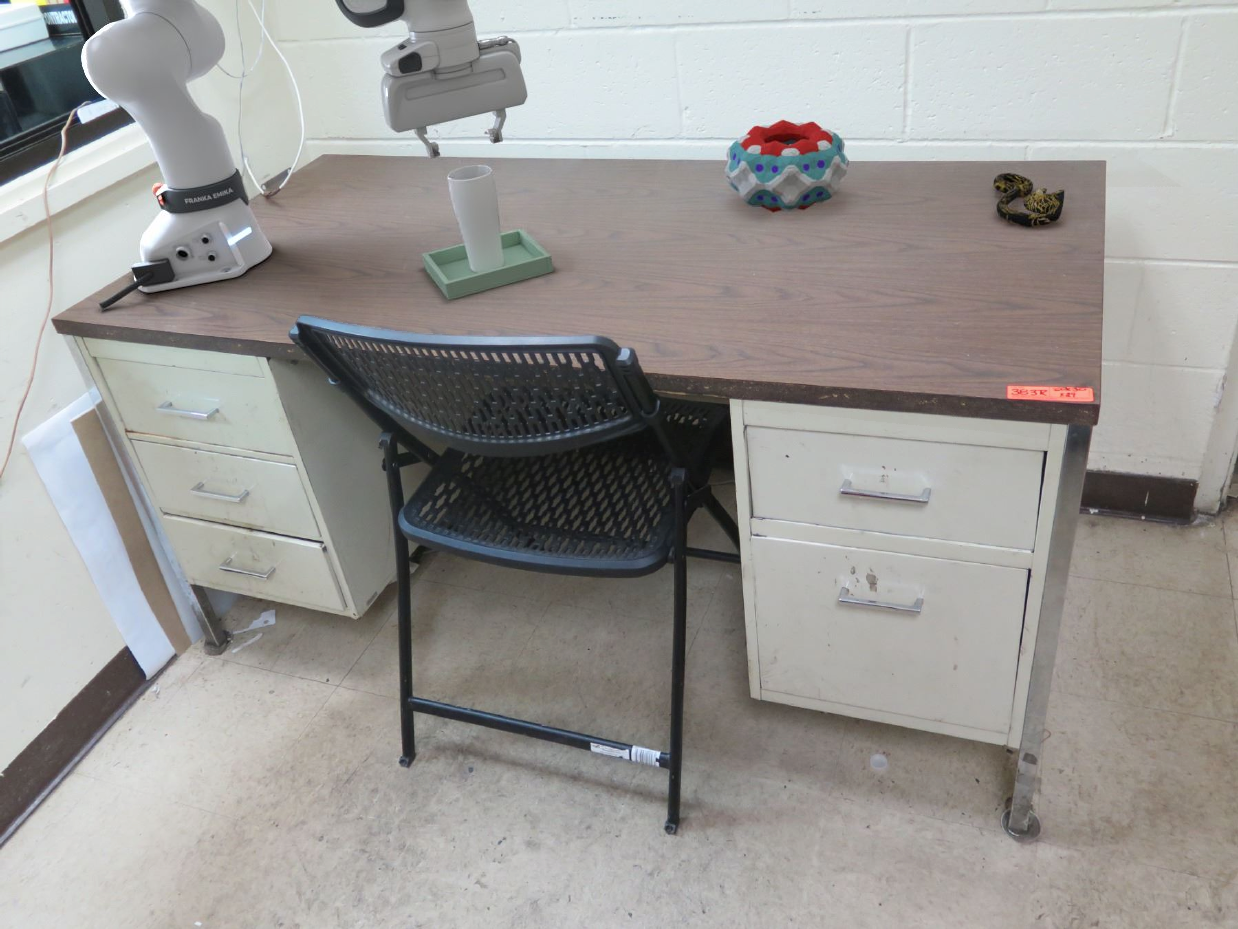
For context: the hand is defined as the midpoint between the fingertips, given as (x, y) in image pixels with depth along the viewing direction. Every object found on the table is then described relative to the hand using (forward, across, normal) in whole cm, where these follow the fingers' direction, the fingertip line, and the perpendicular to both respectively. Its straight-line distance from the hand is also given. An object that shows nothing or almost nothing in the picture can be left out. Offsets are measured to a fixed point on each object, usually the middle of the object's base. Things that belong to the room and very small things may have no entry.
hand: (465, 149), depth 141 cm
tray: (+19, 0, 0) cm, 19 cm away
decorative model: (+19, -51, +4) cm, 54 cm away
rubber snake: (+20, -78, +29) cm, 85 cm away
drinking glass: (+19, 0, 0) cm, 19 cm away
